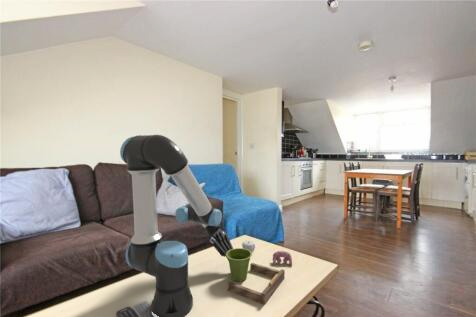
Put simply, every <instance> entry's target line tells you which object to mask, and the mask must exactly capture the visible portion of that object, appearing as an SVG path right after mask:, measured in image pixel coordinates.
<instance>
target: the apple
mask: <svg viewBox="0 0 476 317" xmlns="http://www.w3.org/2000/svg"><path fill="white" fill-rule="evenodd" d="M241 248H243V249H247V250H249V251H250V252H251V253H252V254H253V253H254V251H255V248H256V244H255V242H254V241H252V240H245V241H243V242H242V243H241Z"/></svg>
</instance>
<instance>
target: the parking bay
mask: <svg viewBox="0 0 476 317" xmlns="http://www.w3.org/2000/svg"><path fill="white" fill-rule="evenodd" d="M249 264H250V265H249V266H250V271H252V272H256V273H259V274H262V275H265V276H269V277H272V279H271V280H270V281H269V282H268V284H267V286H266V287H265V288H264V290H262V292H259V291H257V290H254V289H252V288H249V287H246V286H243V285H241V284H238V283H235V282H231V281H229V282H228V283H227V291H229V292H231V293H234V294H236V295H239V296H242V297H244V298H246V299H249V300H252V301H255V302H256V303H260V304H262V305H266V303H268V301H269V300H270V299H271V297H272V296H273V294H274V293H275V292H276V291H277V289H278V288H279V286H280V285H281V284H282V283H283V281H284V280H285V269H283V268H282V269H280V270H279V269H274V268H272V267H269V266H264V265H261V264H258V263H255V262H251V263H249Z"/></svg>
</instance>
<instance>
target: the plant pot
mask: <svg viewBox="0 0 476 317" xmlns="http://www.w3.org/2000/svg"><path fill="white" fill-rule="evenodd" d="M252 254H253V253H251V252H250V251H249V250H247V249H243V247H241V248H240V247H239V248H238V247H236V248H233V249H231V250H229V251H228V252H227V253H226V256H227V257H228V259H227V261H228V264H229V271H230V277H231V279H232V280H234V281H235V282H243V281H244V280H247V278H248V272H249V266H250V265H249V264H250V261H251V257H252ZM226 256H225V257H226Z"/></svg>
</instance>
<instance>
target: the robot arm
mask: <svg viewBox="0 0 476 317" xmlns="http://www.w3.org/2000/svg"><path fill="white" fill-rule="evenodd" d="M119 154H120V155H119V156H120V159H121V160H122V161H123V162H124V163H125V164H126V170H127V172H128V173H129V174H130V175H131V182H132V184H131V187H132V203H133V204H132V206H133V225H134V226H133V227H134V229H133V231H134V234H133V236H132V237H131V238H130V242H129V244H128V247H126V250H125V261H126V263H127V265H128V266H129V267H130V268H132V269H134V270H136V271H139V272H142V273H145V274H147V275H150V276H152V277H154V278H155V291H154V294H153V299H152V301H151V304H150V311H151V310H152V312H153V313H154V314H156V315H157V316H159V317H185V316H187V315H188V314H189V313H190V312H191V310H192V309H193V307H194V299H193V295H192V291H191V289H190V286H189V254H188V252H189V251H188V248H187V245H186V244H184V243H182V242H181V241H178V240H165V241H163V235H162V233H161V232H159V230H158V211H157V210H158V208H157V206H158V205H157V204H158V203H157V183H156V173H157V172H158V171H159V170H160V169H161V170H162V171H163V172H164V173H165V175H167V176H170V177H171V178H172V180H173V181H174V183H175V184H176V186H177V188H178V189H179V191H180V192H181V193H182V195H183V197H184V198H185V199H186V201H187V202H188V204H186V205H182V206H180V207H178V208H176V210H175V213H174V214H175V218H176V221H177V222H178V223H180V224H184V223H187V222H189V223H196V224H201V225H202V227H203V228H204V230H205V232H206V234H207V235H208V236H210V237H209V238H210V239H209V240H208V243H209V244H211V245H212V246H213V247H214V249H215V251H217V252H218V254H219V255H220V256H221V257H224V258H226V259H227V260H228V257H227V256H226V253H227V252H228V251H229V250H231V249H234V247H233V245H232V242H231V240H230V238H229V236H228V232H227V231H226V230H225V231H223V229H221V225H220V224H221V221H222V220H223V214H222V211H221V210H220V209H218V208H214V207H213V205H212V204H211V202H210V201H209V198H208V197H207V195H206V194H205V191H204V190H203V189H202V187H201V185H200V184H199V182H198V180H197V179H196V177H195V175H194V173H193V172H192V170H191V169H190V167H189V165H188V164H189V160H188V158H187V156H186V154H184V152H183V151H182V150H181V148H180V147H179V146H178V145H177V144H176V143H175V142H174V141H173V140H172V139H171V138H169V137H167V136H165V135H162V134H153V135H152V134H149V135H146V134H145V135H141V134H139V135H135V136H130V137H129V138H126V140H124V141H123V142H122V145H121V147H120V149H119Z"/></svg>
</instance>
